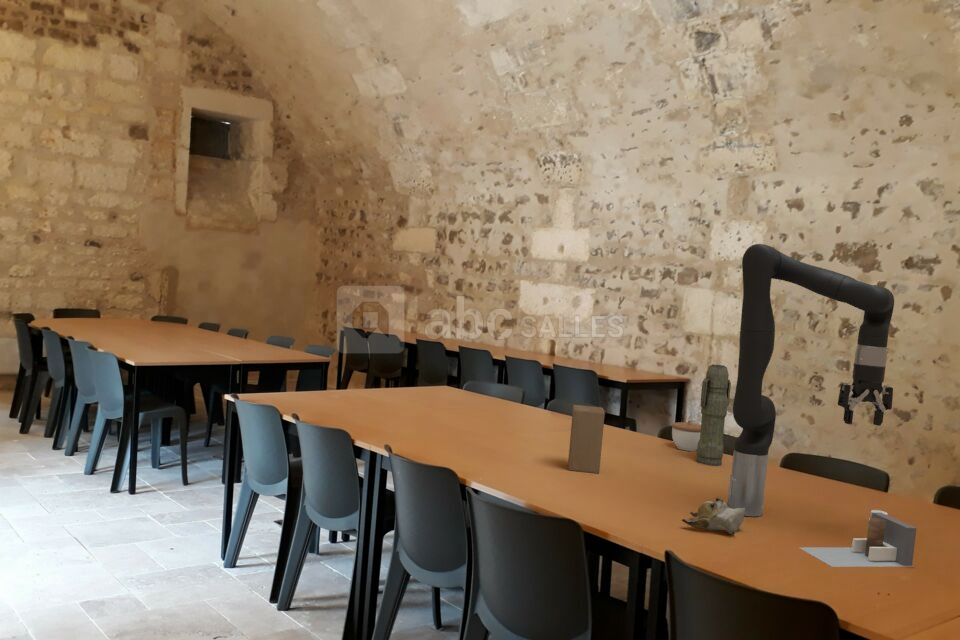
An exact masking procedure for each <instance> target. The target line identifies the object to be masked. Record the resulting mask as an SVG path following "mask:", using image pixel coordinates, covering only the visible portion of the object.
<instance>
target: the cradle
mask: <svg viewBox="0 0 960 640" xmlns="http://www.w3.org/2000/svg"><path fill="white" fill-rule="evenodd" d="M866 544H867V537H864V538H860V537H857V538H856V537H855V538H852V543H851V547H852V551H853V552H866ZM896 553H897V548H896V547H894V546H891V545H889V544H887V543H885V542H883V547H869V556H868V559H869V560H871V561H896Z"/></svg>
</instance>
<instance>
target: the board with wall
mask: <svg viewBox="0 0 960 640" xmlns="http://www.w3.org/2000/svg"><path fill="white" fill-rule="evenodd" d="M872 518H879V519H883V520H885V521H886V524H885V532H884V540H883V542H885V543H887V544H889V545H891V546H894V547H896V548H897V553H896V561H871V560H869V559H868V557H867V556H865V552H853V551H852V546H851V547H848V546H847V547H839V546H838V547H828V546H826V547H822V546H821V547H817V546H816V547H815V546H814V547H806V546H805V547H798V549H800V550H802V551H804V552H805V553H807V554H809V555H811V556H812V557H813V558H816V559H817V560H820V561H821V562H822V563H825V564H826V565H828V566H830V567H831V568H869V567H870V568H879V567H881V568H882V567H883V568H893V567H895V568H897V567H903V568H904V567H905V568H908V567H909V568H911V567H915V565H913V560H914V553H915V543H916V534H917V527H916V526H913V525H910V524H908V523H906V522H903V521H902V520H899V519H897V518H894V517H892V516H890V515H889V514H888V515H885V514H883V513H874V512H872Z"/></svg>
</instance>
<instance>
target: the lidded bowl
mask: <svg viewBox="0 0 960 640" xmlns="http://www.w3.org/2000/svg"><path fill="white" fill-rule="evenodd" d="M671 424H672V425H671V428H672V429H671V437H672V441H673V443H674V445H675V447H676V448H677V449H678V450H681V451H687V452H697V447H698V442H699V440H700V432H701V424H697V423H694V422H693V423H692V420H689V419H688V420H687V422H684V421H683V422H673V423H671Z"/></svg>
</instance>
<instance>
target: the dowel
mask: <svg viewBox="0 0 960 640" xmlns="http://www.w3.org/2000/svg"><path fill="white" fill-rule="evenodd" d="M869 518H870V517H869ZM885 524H886V521H885V520H883V519H879V518H870V520H869V528H868V527H867V528H868V536H867V535H866V538H867V544H866V552H865V556H867V557H868V556H869V547H883V540H884V532H885Z"/></svg>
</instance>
